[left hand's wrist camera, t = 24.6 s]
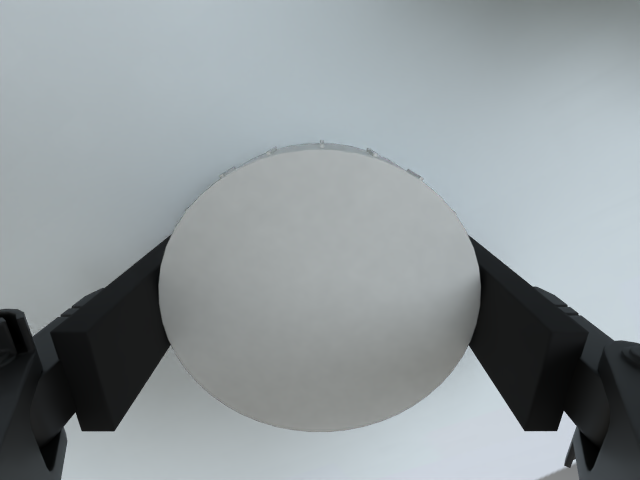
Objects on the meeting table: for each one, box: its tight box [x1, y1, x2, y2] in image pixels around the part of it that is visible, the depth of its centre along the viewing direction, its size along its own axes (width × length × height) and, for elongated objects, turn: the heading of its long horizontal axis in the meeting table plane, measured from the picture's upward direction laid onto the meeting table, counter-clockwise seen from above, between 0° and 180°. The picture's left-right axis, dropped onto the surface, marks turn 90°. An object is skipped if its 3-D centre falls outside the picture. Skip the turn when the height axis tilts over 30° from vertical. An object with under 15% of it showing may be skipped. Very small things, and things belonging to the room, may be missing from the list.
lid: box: [158, 140, 481, 432], centre depth 11 cm, size 10×10×2 cm
